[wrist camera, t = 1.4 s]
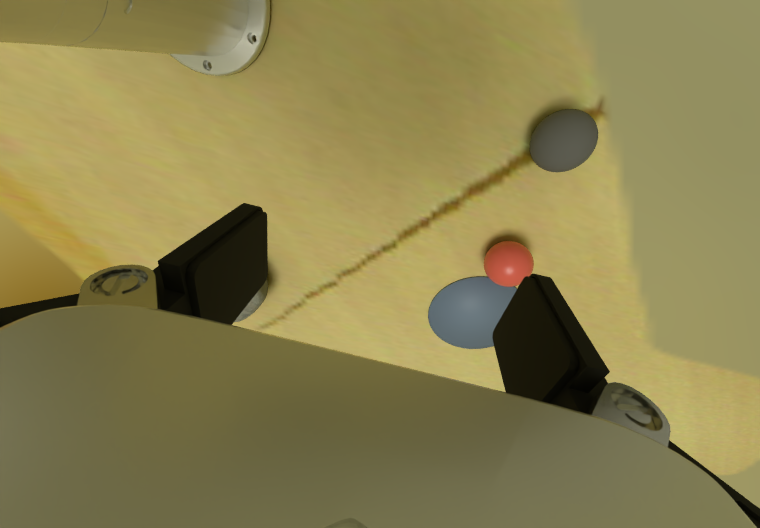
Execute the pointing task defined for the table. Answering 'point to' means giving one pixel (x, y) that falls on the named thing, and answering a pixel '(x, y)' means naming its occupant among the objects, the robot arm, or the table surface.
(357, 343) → the table surface
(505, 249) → the object ball
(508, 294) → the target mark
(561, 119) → the gray ball
